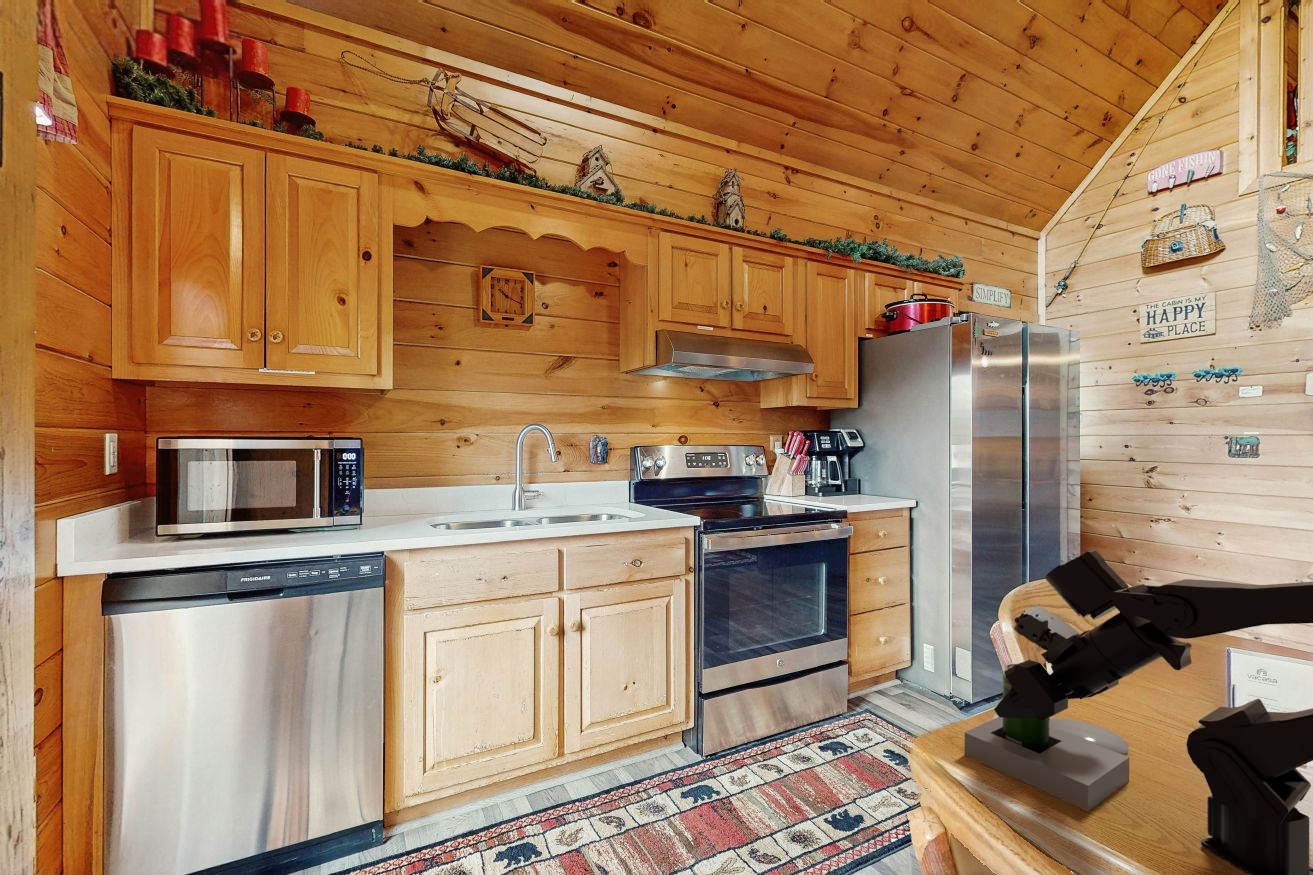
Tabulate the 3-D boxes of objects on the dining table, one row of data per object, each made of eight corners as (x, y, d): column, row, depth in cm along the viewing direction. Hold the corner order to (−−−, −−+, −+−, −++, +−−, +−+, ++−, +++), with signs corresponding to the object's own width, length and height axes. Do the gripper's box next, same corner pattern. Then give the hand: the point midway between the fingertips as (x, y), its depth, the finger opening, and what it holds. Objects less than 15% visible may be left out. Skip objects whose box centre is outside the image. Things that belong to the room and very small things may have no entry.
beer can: (1037, 774, 74) (1038, 681, 75) (994, 755, 79) (995, 667, 79) (1056, 762, 77) (1057, 673, 78) (1013, 745, 82) (1014, 660, 82)
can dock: (1129, 780, 73) (1129, 756, 73) (1088, 811, 67) (1088, 785, 67) (1009, 732, 86) (1009, 711, 86) (964, 754, 79) (964, 732, 79)
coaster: (1146, 752, 80) (1146, 748, 80) (1091, 761, 78) (1091, 756, 78) (1078, 719, 90) (1078, 715, 90) (1026, 726, 88) (1026, 722, 88)
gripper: (1092, 584, 80) (1008, 640, 89) (1022, 601, 70) (936, 662, 79) (1164, 660, 73) (1065, 712, 82) (1098, 690, 63) (994, 746, 73)
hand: (1015, 705), depth 79 cm, fingers open, 9 cm apart
